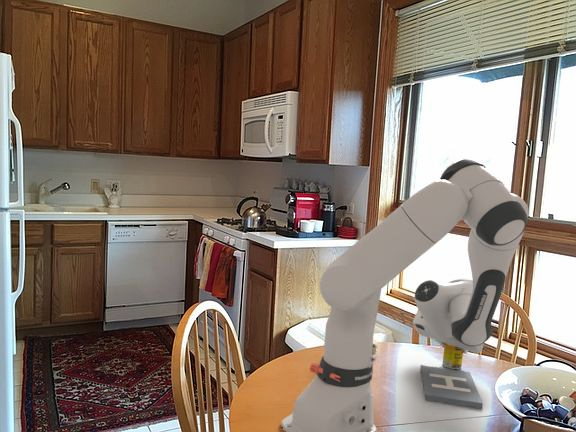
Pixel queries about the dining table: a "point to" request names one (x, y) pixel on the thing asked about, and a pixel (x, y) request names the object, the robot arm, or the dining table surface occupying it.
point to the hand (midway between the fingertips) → (454, 347)
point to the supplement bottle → (452, 357)
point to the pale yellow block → (374, 347)
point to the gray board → (450, 387)
